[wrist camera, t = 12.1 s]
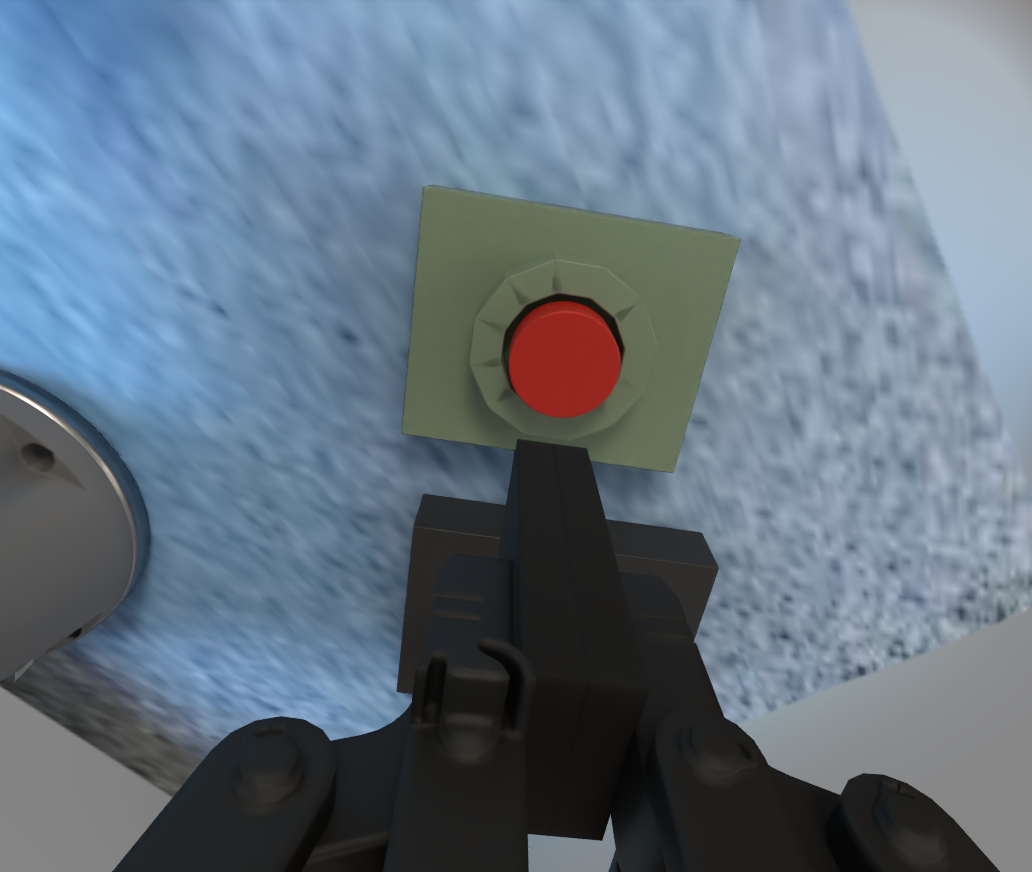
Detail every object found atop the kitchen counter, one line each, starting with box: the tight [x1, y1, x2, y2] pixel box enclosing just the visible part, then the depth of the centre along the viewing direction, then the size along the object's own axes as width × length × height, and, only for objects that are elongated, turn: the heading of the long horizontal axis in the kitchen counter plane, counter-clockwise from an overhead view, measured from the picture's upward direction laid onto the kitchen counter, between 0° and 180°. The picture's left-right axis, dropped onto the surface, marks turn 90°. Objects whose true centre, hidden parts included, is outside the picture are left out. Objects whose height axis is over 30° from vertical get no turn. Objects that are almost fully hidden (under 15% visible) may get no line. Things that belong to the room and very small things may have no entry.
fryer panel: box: [397, 494, 719, 694], centre depth 31 cm, size 14×10×3 cm
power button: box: [508, 301, 621, 418], centre depth 23 cm, size 4×4×2 cm
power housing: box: [402, 185, 740, 473], centre depth 25 cm, size 12×10×4 cm
